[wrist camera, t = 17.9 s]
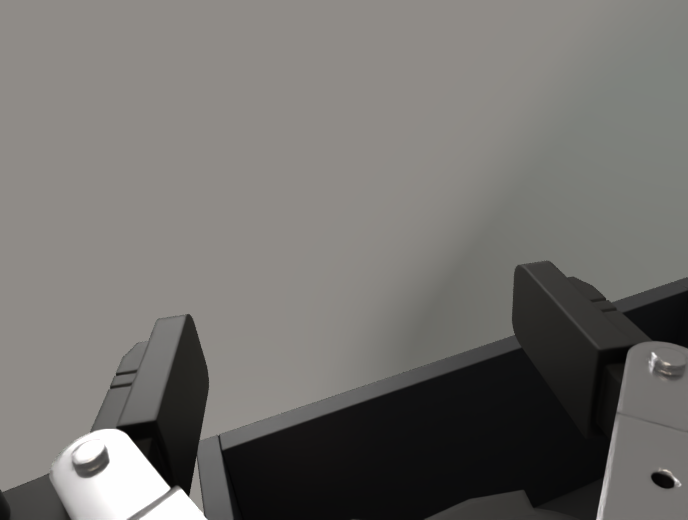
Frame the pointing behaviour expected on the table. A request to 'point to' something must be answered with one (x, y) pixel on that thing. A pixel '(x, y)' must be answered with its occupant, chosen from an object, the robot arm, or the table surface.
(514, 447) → the open box
